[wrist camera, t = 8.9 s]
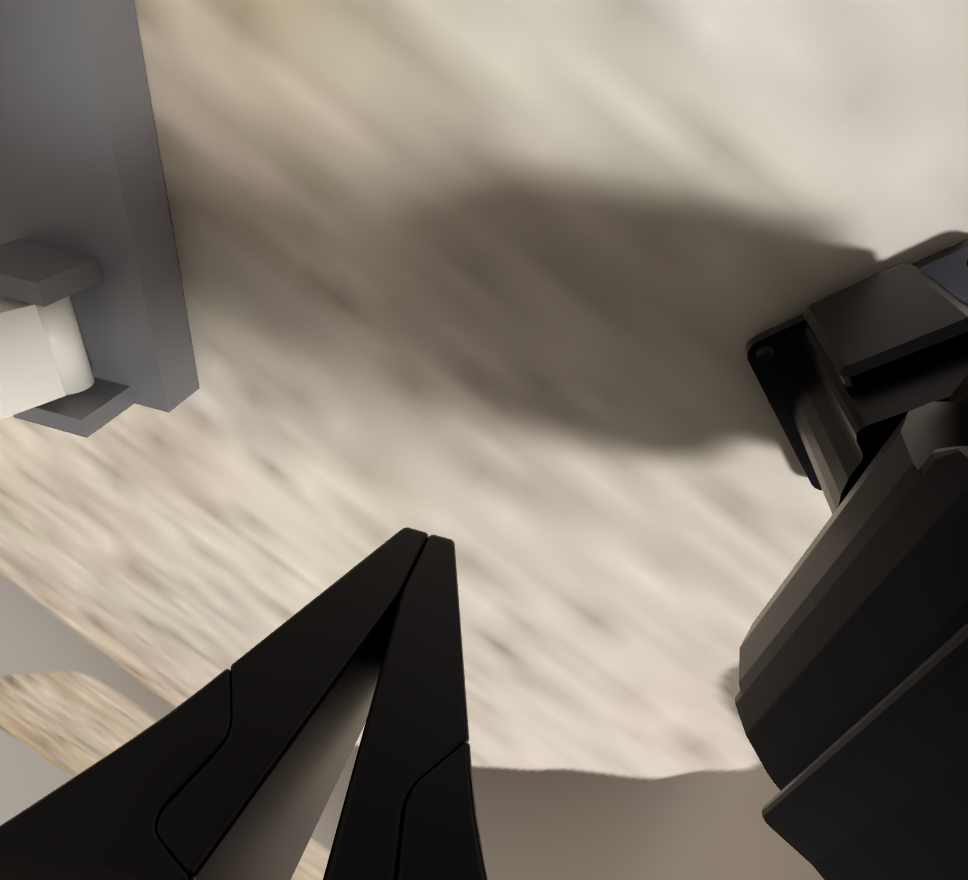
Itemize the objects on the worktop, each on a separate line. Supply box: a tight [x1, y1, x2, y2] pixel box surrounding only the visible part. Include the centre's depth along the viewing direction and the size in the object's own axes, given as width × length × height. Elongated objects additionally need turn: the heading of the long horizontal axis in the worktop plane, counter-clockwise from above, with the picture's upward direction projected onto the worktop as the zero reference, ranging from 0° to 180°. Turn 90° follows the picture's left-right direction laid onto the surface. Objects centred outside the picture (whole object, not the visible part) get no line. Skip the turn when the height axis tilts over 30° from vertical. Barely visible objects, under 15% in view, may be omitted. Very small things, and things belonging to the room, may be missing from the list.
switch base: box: [0, 0, 199, 437], centre depth 17 cm, size 6×21×4 cm, turn 171°
